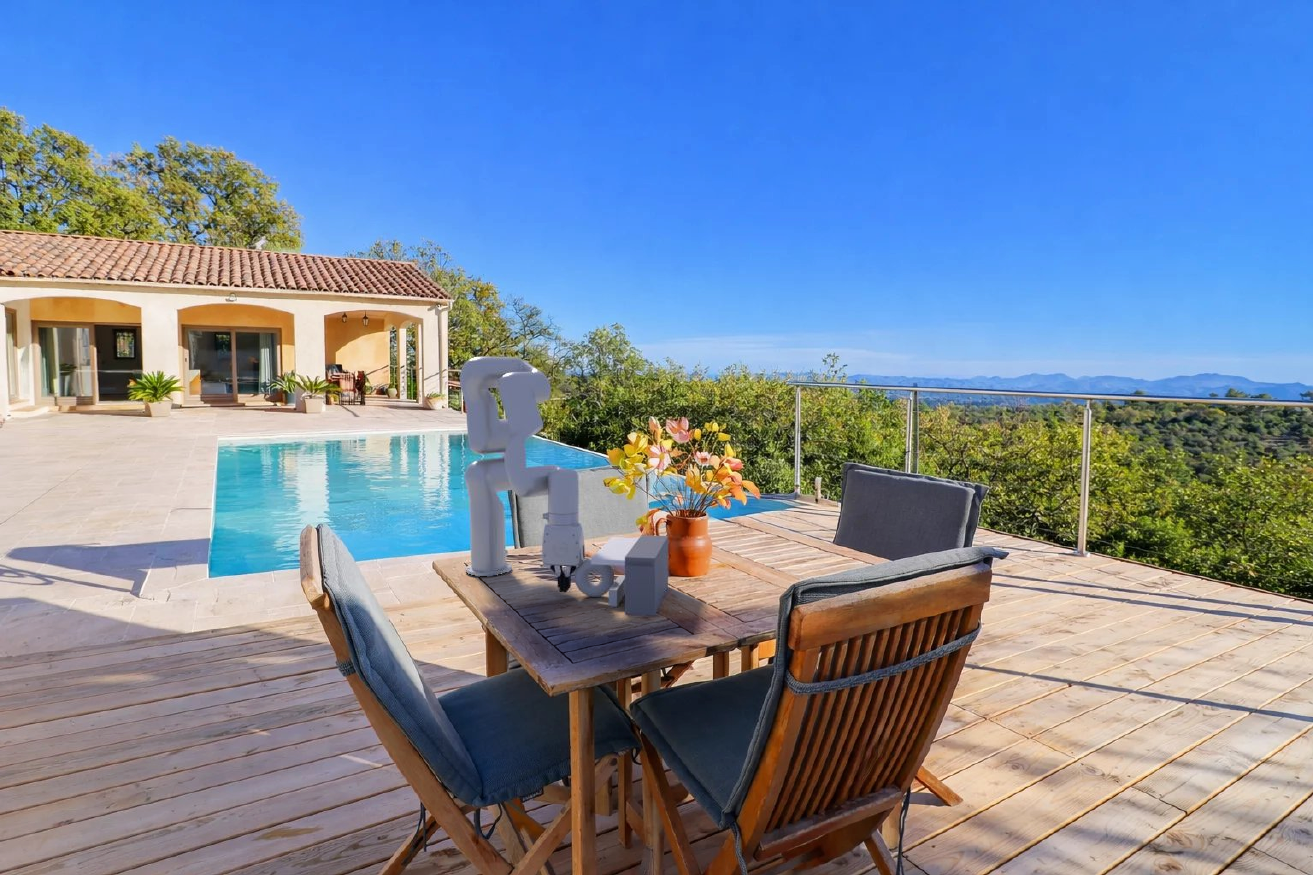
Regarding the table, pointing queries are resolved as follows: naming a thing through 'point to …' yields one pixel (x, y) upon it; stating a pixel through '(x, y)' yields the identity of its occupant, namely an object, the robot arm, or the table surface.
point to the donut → (594, 588)
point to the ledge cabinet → (637, 572)
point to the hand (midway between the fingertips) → (564, 590)
